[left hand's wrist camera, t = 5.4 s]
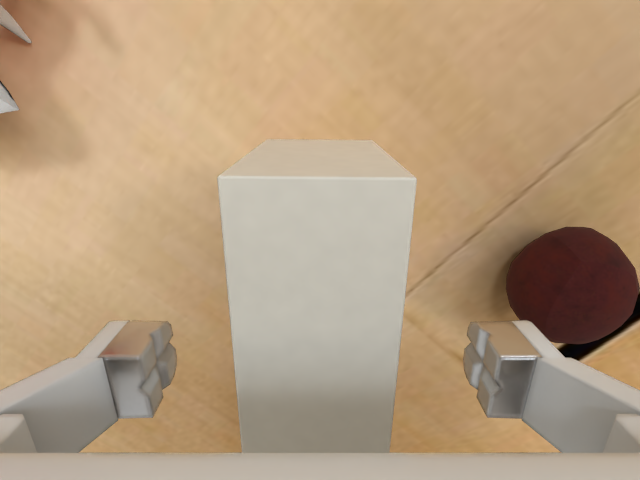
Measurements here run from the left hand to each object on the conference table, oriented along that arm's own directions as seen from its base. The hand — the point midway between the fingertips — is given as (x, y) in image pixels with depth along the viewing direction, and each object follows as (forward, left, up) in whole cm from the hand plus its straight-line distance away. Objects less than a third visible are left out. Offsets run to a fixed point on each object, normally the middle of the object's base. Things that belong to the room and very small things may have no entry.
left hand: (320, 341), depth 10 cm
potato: (-17, +1, -17) cm, 24 cm away
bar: (-2, +9, -9) cm, 13 cm away
